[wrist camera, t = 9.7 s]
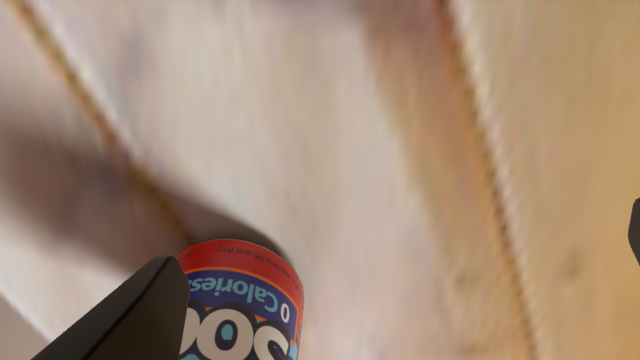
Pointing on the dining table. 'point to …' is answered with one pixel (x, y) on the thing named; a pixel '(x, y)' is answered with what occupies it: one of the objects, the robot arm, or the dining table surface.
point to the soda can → (240, 303)
